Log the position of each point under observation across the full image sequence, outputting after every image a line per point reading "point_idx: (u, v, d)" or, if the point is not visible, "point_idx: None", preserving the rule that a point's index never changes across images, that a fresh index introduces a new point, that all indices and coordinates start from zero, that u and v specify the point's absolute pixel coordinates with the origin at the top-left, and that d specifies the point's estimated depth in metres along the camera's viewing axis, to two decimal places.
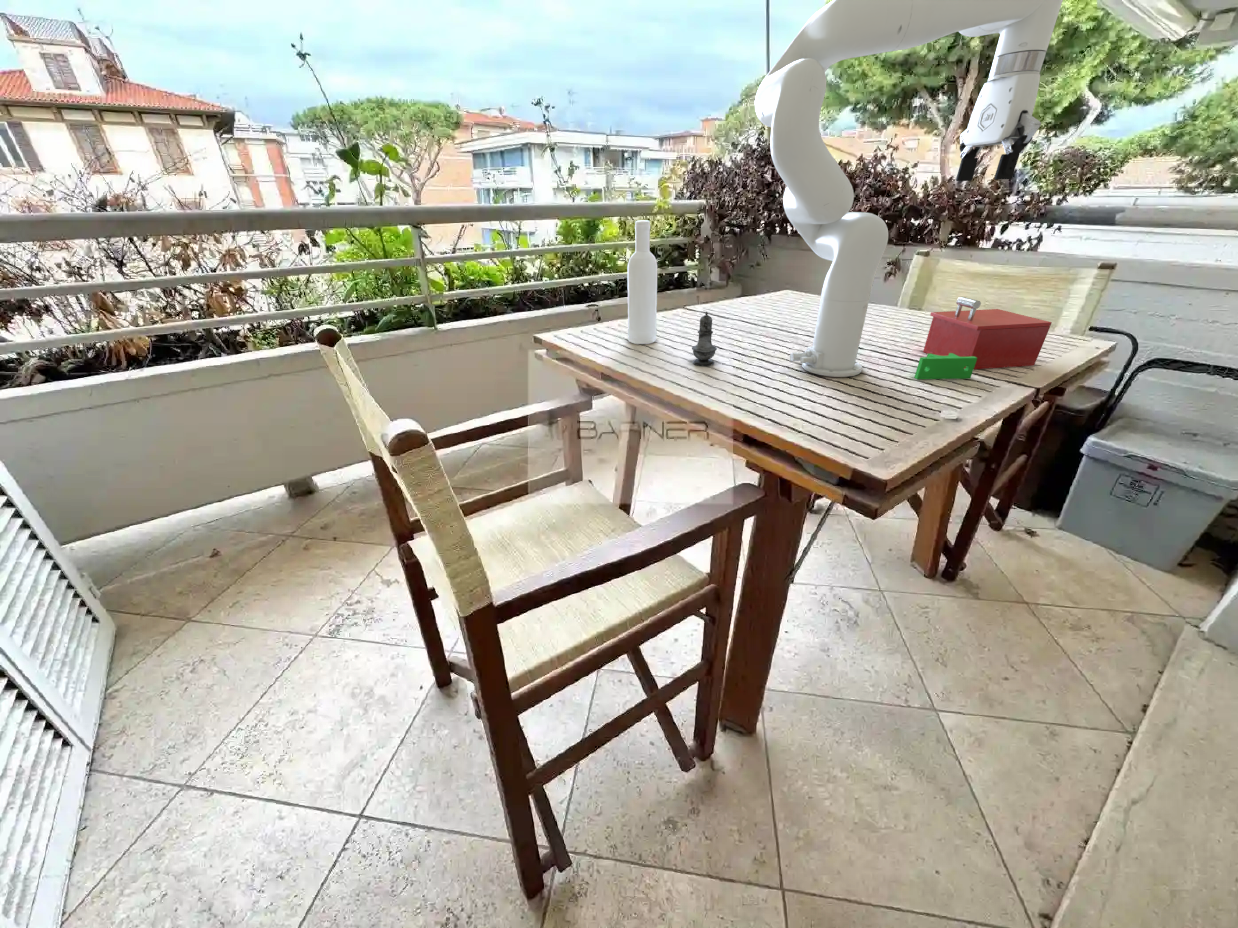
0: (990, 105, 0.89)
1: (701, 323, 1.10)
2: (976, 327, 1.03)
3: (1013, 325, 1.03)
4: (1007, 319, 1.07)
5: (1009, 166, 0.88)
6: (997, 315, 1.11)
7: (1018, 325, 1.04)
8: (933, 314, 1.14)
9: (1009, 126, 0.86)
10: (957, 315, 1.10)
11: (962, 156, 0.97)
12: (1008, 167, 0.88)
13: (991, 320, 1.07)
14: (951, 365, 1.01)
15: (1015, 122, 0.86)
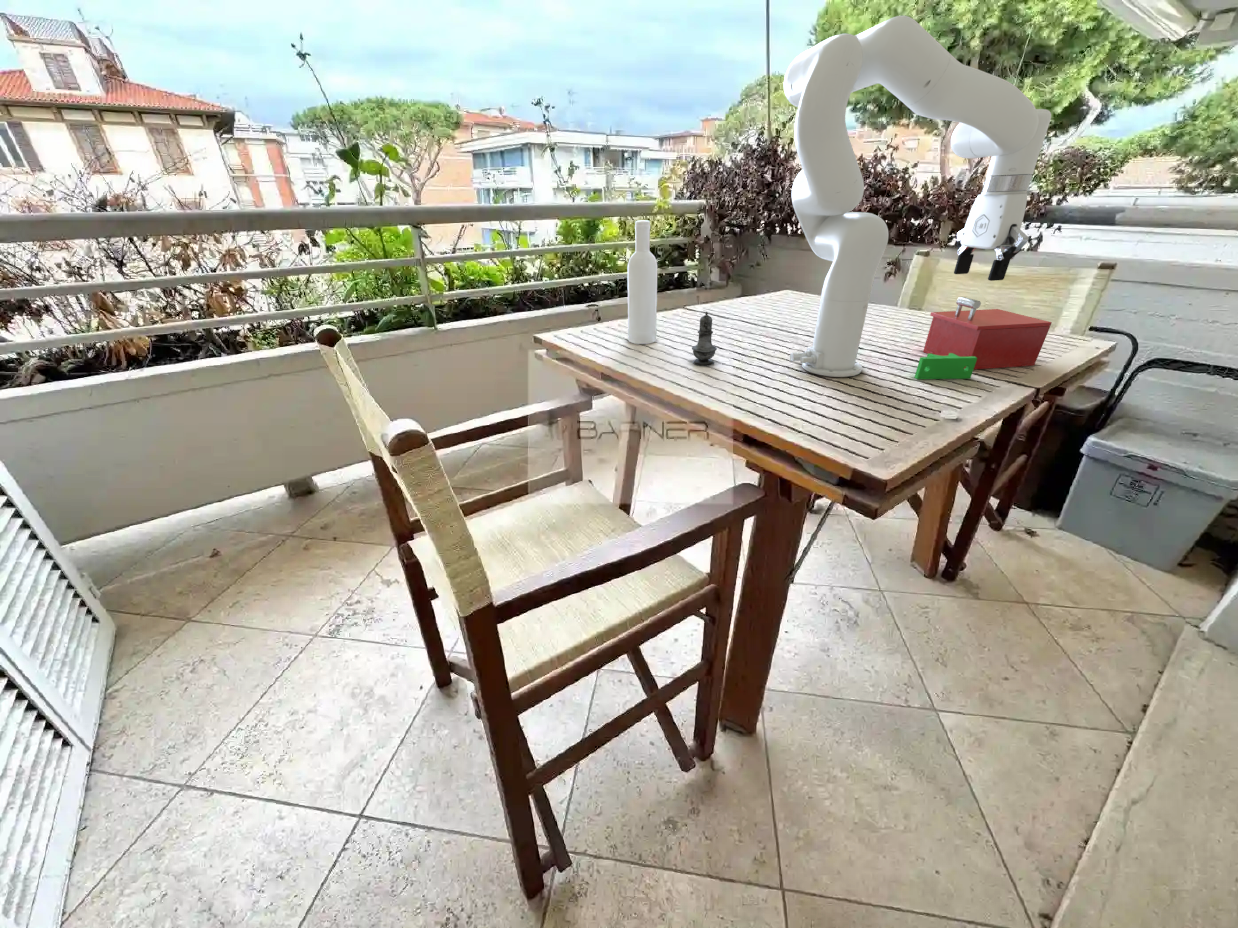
0: (983, 215, 0.99)
1: (701, 323, 1.10)
2: (976, 327, 1.03)
3: (1013, 325, 1.03)
4: (1007, 319, 1.07)
5: (1001, 270, 0.99)
6: (997, 315, 1.11)
7: (1018, 325, 1.04)
8: (933, 314, 1.14)
9: (1000, 237, 0.96)
10: (957, 315, 1.10)
11: (959, 253, 1.07)
12: (1000, 271, 0.99)
13: (991, 320, 1.07)
14: (951, 365, 1.01)
15: (1006, 234, 0.96)
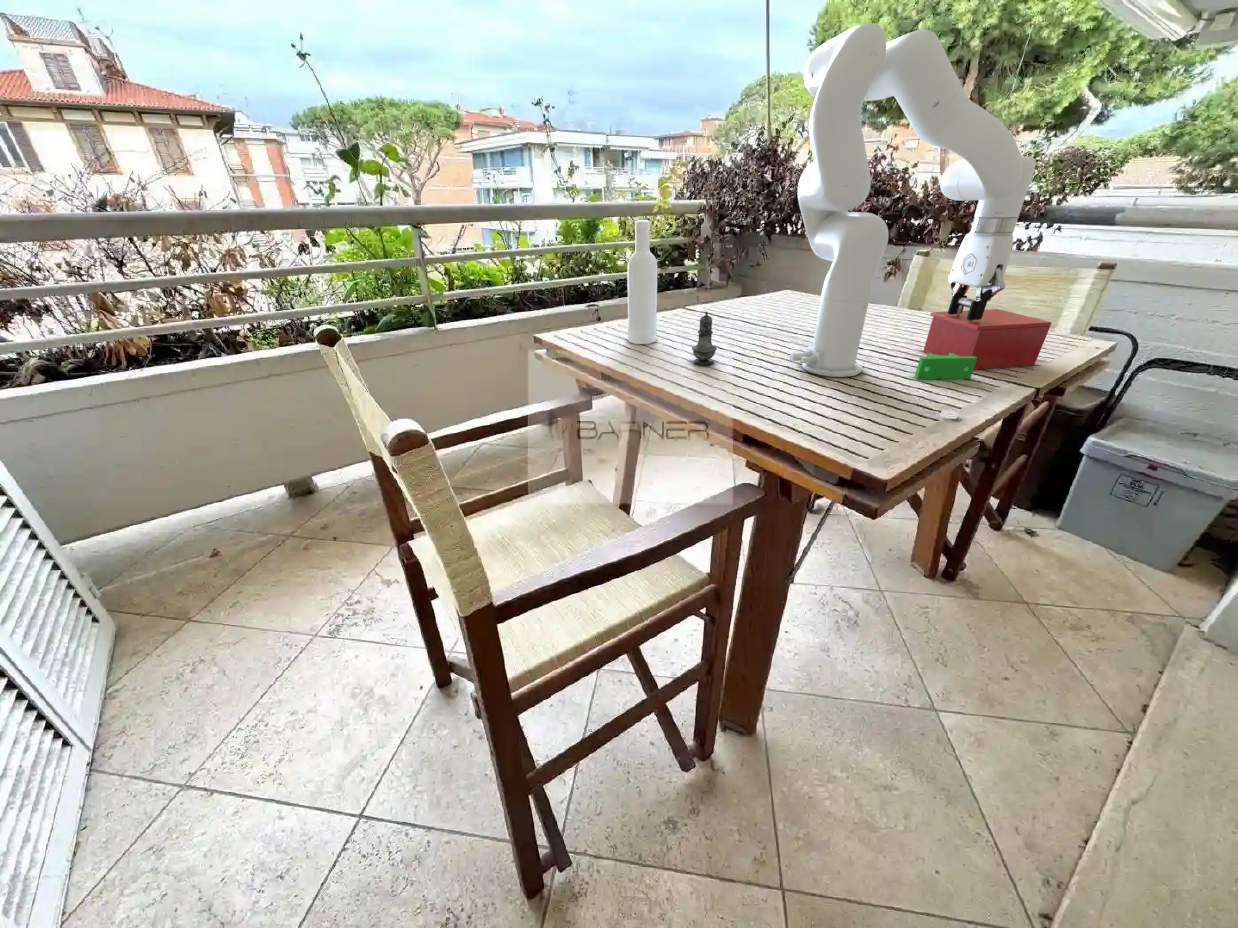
0: (971, 254, 1.02)
1: (701, 323, 1.10)
2: (976, 327, 1.03)
3: (1013, 325, 1.03)
4: (1007, 319, 1.07)
5: (979, 310, 1.05)
6: (997, 315, 1.11)
7: (1018, 325, 1.04)
8: (933, 314, 1.14)
9: (987, 276, 1.00)
10: (957, 315, 1.10)
11: (953, 294, 1.10)
12: (978, 311, 1.05)
13: (991, 320, 1.07)
14: (951, 365, 1.01)
15: (992, 273, 1.00)
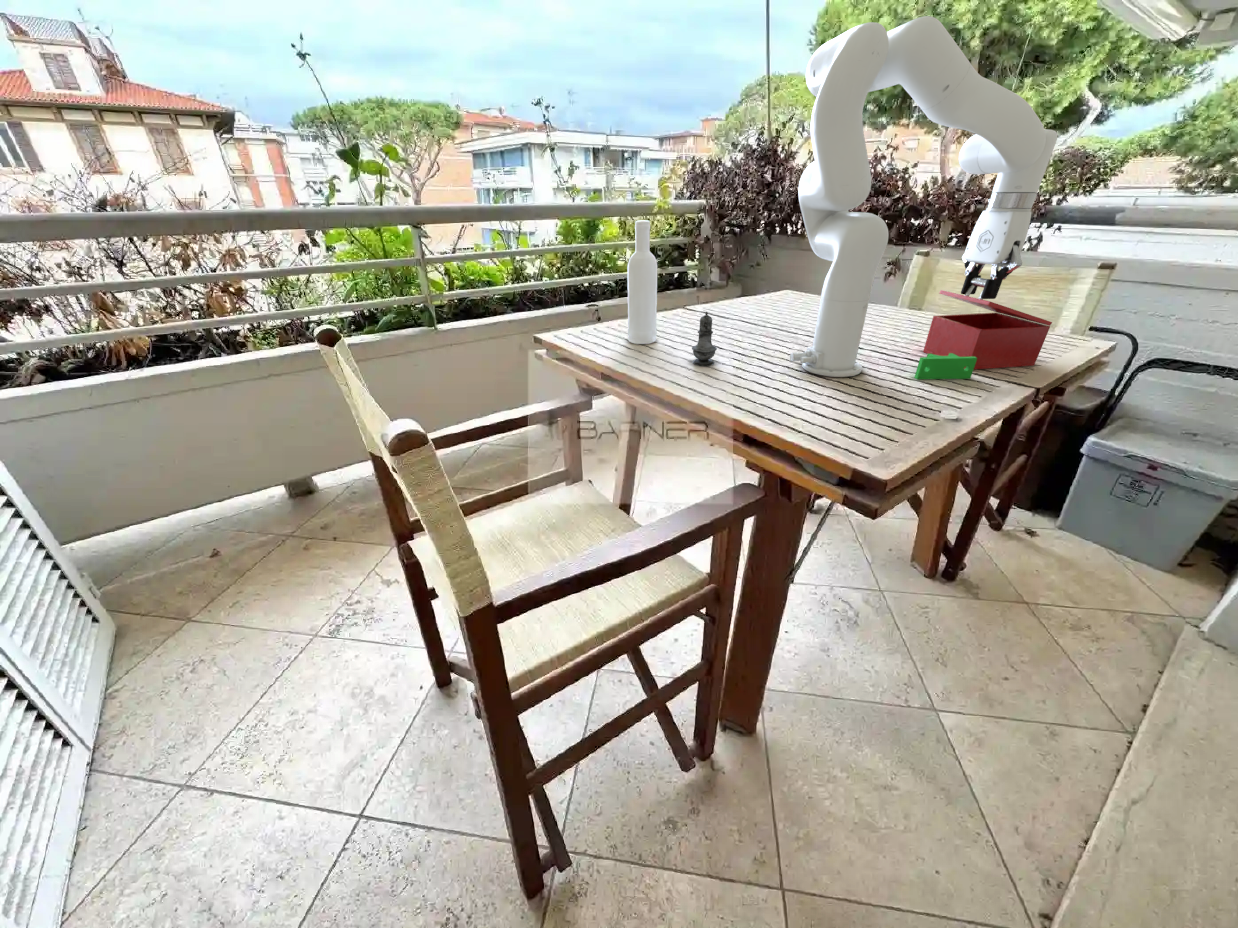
0: (988, 231, 1.01)
1: (701, 323, 1.10)
2: (988, 302, 1.01)
3: (1020, 312, 1.02)
4: None
5: (993, 289, 1.03)
6: None
7: (1024, 314, 1.03)
8: (943, 291, 1.12)
9: (1004, 253, 0.98)
10: (967, 295, 1.08)
11: (967, 273, 1.08)
12: (993, 290, 1.03)
13: None
14: (951, 365, 1.01)
15: (1009, 250, 0.98)
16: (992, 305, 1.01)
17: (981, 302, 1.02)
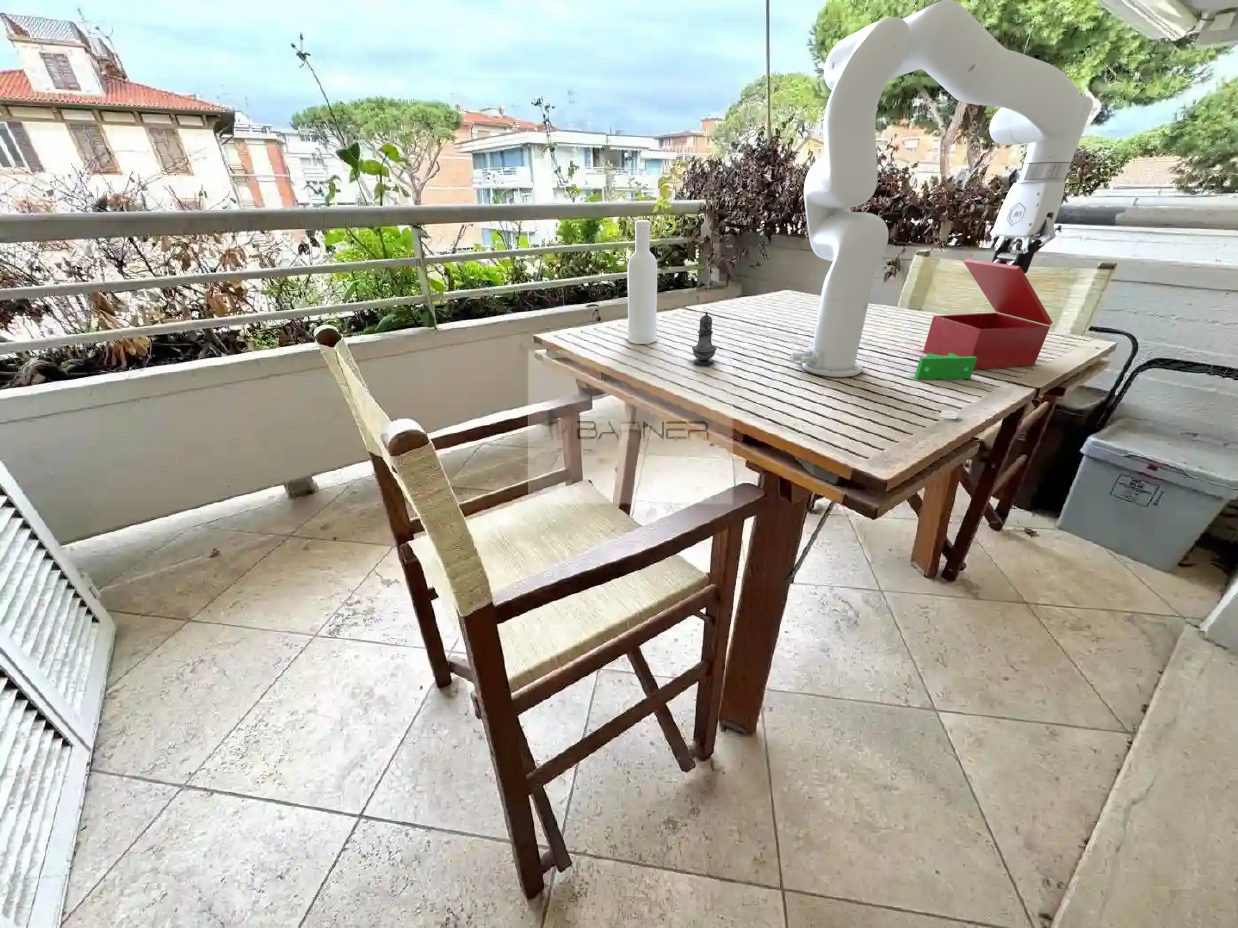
0: (1019, 203, 0.99)
1: (701, 323, 1.10)
2: (1017, 267, 0.98)
3: (1035, 295, 1.01)
4: None
5: (1025, 263, 1.01)
6: None
7: (1037, 299, 1.01)
8: (968, 260, 1.09)
9: (1036, 225, 0.96)
10: None
11: (996, 248, 1.06)
12: (1024, 264, 1.01)
13: None
14: (951, 365, 1.01)
15: (1042, 222, 0.96)
16: (1019, 272, 0.98)
17: (1009, 267, 0.99)
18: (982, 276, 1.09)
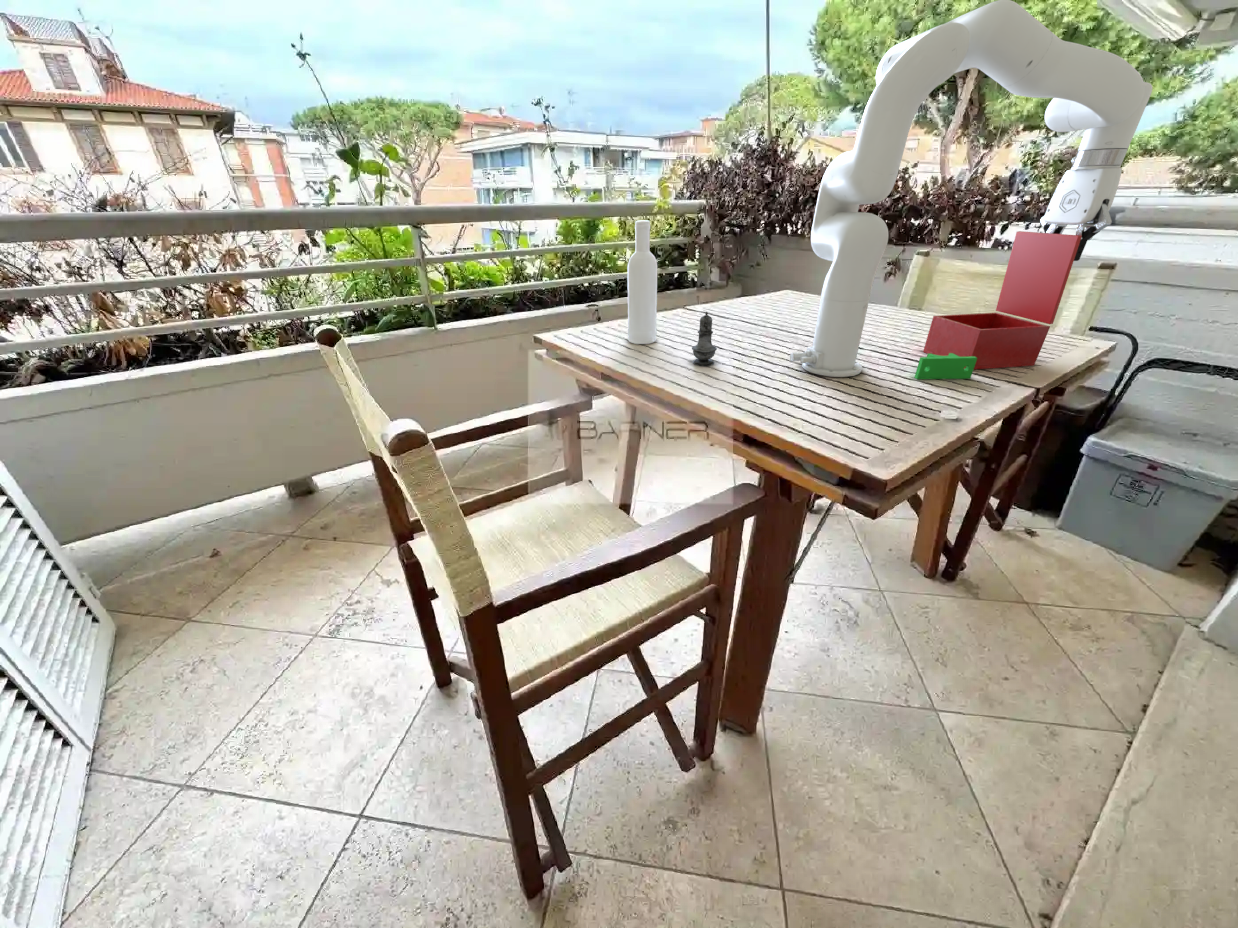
0: (1073, 190, 0.99)
1: (701, 323, 1.10)
2: (1079, 235, 0.96)
3: (1066, 280, 1.00)
4: None
5: (1078, 250, 1.01)
6: None
7: (1064, 286, 1.01)
8: (1022, 231, 1.08)
9: (1092, 212, 0.96)
10: None
11: None
12: (1077, 251, 1.01)
13: None
14: (951, 365, 1.01)
15: (1097, 209, 0.96)
16: (1077, 241, 0.96)
17: (1070, 235, 0.98)
18: (1023, 254, 1.08)
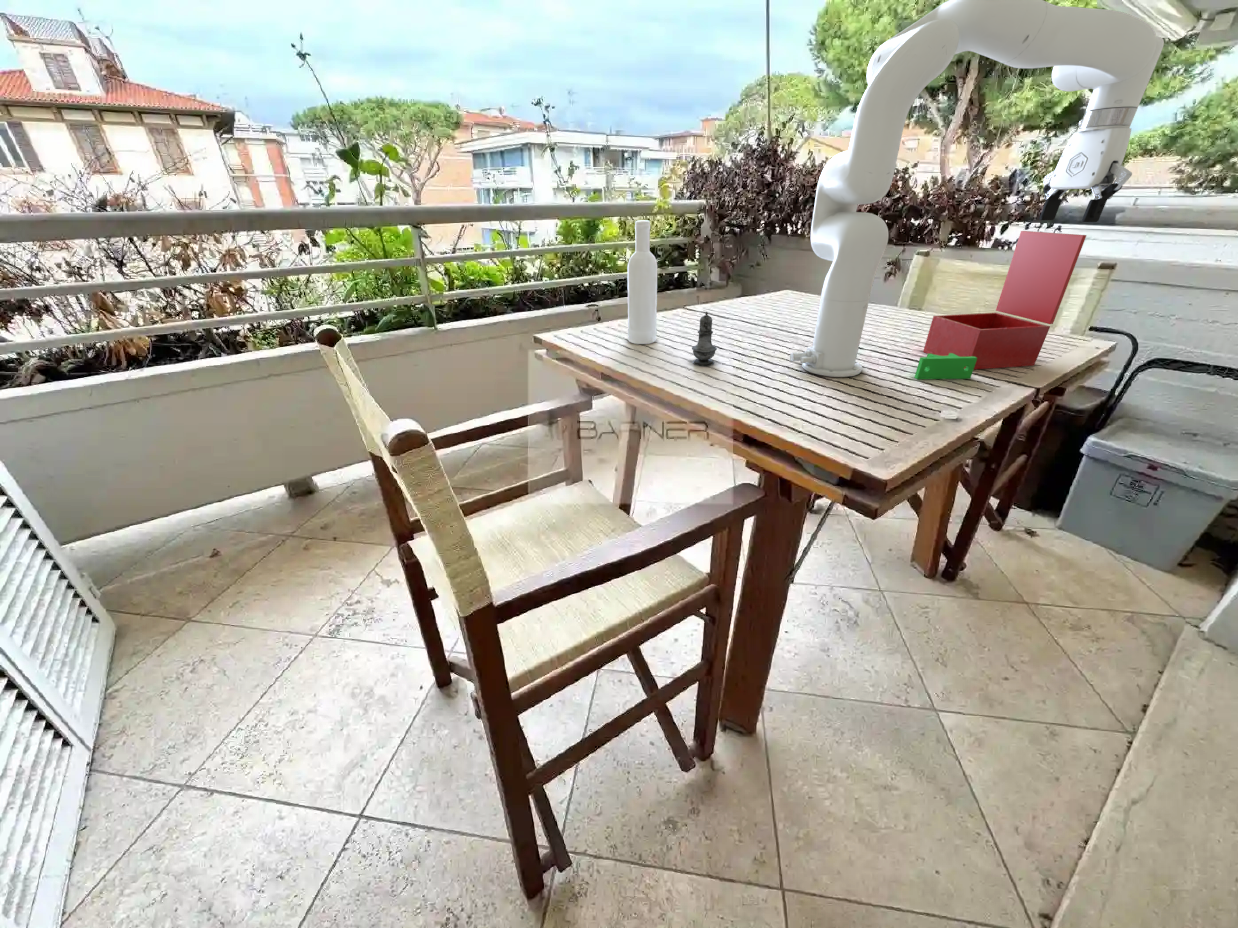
0: (1080, 153, 0.96)
1: (701, 323, 1.10)
2: (1083, 235, 0.96)
3: (1068, 279, 1.00)
4: None
5: (1097, 210, 0.96)
6: None
7: (1066, 285, 1.01)
8: (1026, 231, 1.08)
9: (1100, 174, 0.93)
10: None
11: (1046, 197, 1.04)
12: (1096, 211, 0.96)
13: None
14: (951, 365, 1.01)
15: (1106, 171, 0.93)
16: (1082, 241, 0.96)
17: (1075, 234, 0.98)
18: (1026, 253, 1.08)
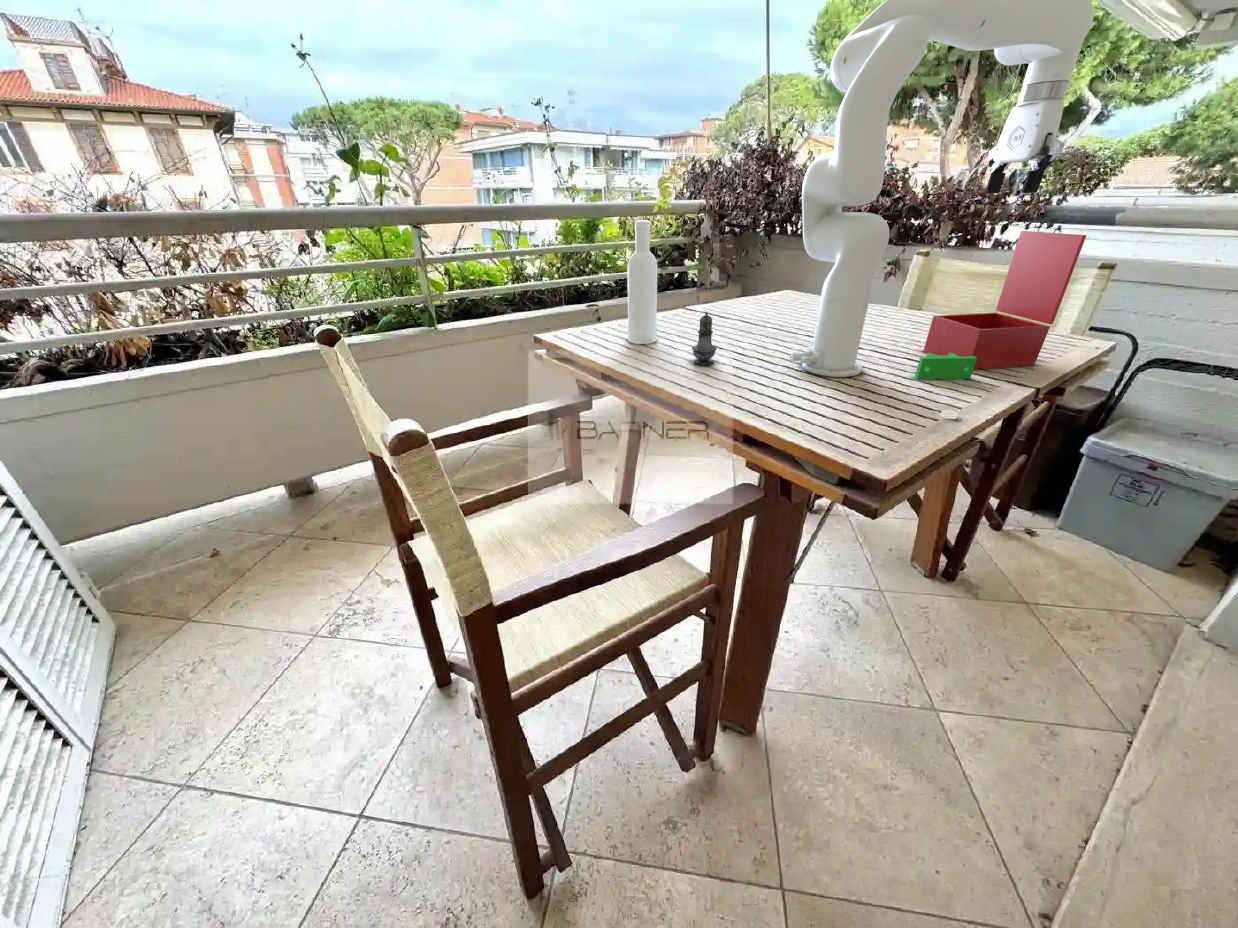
0: (1018, 127, 1.00)
1: (701, 323, 1.10)
2: (1083, 235, 0.96)
3: (1068, 279, 1.00)
4: None
5: (1035, 181, 1.00)
6: None
7: (1066, 285, 1.01)
8: (1026, 231, 1.08)
9: (1036, 146, 0.97)
10: None
11: (991, 171, 1.09)
12: (1034, 182, 1.00)
13: None
14: (951, 365, 1.01)
15: (1041, 143, 0.97)
16: (1082, 241, 0.96)
17: (1075, 234, 0.98)
18: (1026, 253, 1.08)
